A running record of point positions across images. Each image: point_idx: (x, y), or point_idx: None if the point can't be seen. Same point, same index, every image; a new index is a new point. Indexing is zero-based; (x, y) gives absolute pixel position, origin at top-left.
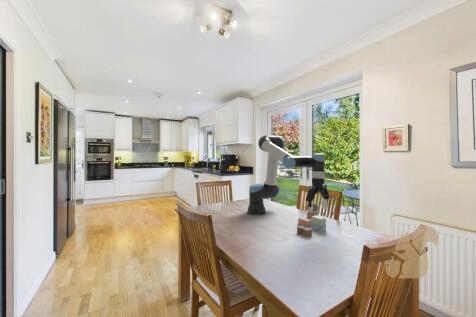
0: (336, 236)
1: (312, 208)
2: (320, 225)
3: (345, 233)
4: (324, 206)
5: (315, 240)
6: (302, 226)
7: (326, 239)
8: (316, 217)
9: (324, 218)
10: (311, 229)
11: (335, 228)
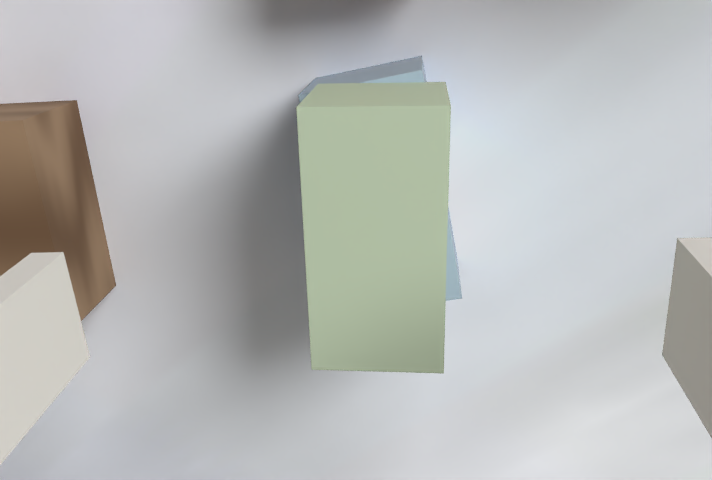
0: (378, 452)
1: (17, 427)
2: None
3: (573, 456)
4: (698, 351)
5: (57, 400)
6: (11, 164)
7: (195, 444)
8: (326, 232)
9: (417, 360)
10: None
11: (659, 279)
